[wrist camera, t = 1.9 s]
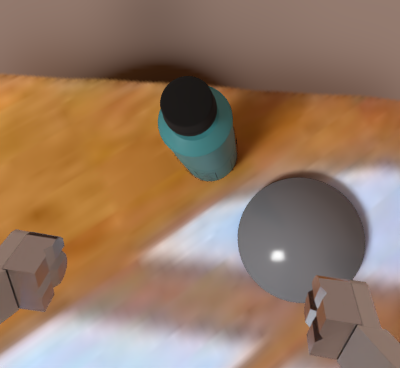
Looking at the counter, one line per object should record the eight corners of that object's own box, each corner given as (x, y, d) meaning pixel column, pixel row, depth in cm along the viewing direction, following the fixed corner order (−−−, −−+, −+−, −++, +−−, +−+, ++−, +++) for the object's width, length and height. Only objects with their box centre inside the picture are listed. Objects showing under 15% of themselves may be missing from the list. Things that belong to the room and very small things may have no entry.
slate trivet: (387, 233, 42) (391, 233, 41) (307, 328, 42) (308, 330, 41) (290, 155, 45) (291, 153, 44) (213, 243, 44) (212, 243, 43)
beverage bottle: (249, 153, 45) (253, 87, 26) (215, 196, 45) (194, 163, 25) (206, 122, 47) (179, 37, 27) (174, 164, 46) (122, 109, 27)
